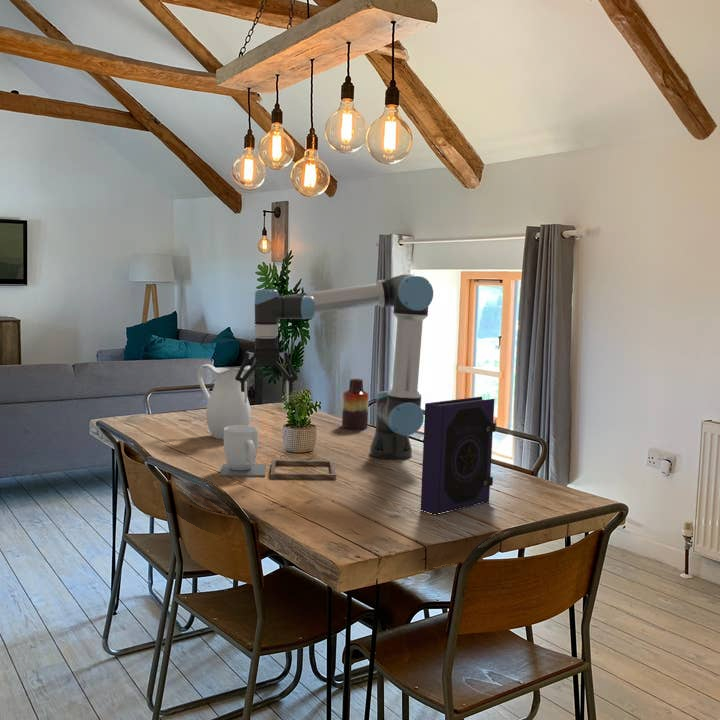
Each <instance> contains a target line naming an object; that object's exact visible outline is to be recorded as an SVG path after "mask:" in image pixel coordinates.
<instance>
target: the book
mask: <svg viewBox="0 0 720 720" xmlns="http://www.w3.org/2000/svg"><path fill="white" fill-rule="evenodd" d="M424 404H425V405H424V420H423V425H424V426H423V449H422V466H421V467H422V471H421V489H420V491H421V495H420V511H421V510H423V511H426V512H429V513H432V514H438V513H442V512H446V511H451V510H455V509H459V508H462V509H464V508H463V507H466V508H468V507H467V506H470V507H472V506H471V505H474V504H478V503H481V504H483V503H482V502H485V503H488V502H487V501H489V502H490V495H491V494H490V493H491V492H490V491H491V486H493V484H494V483H493V482H494V477H493V476H491V472H492V456H493V455H492V453H493V435H494V433H495V432H496V429H497V423H494V419H495V417H494V416H495V415H494V414H495V398H489V399H488V398H487V399H483V396H475V397H474V396H473V397H468V398H467V397H466V398H465V397H464V398H459V399H458V398H457V399H451V400H449V399H448V400H441V401H435V402H426V403H424ZM478 505H479V504H478ZM474 506H475V505H474ZM459 510H460V509H459ZM423 511H422V512H423ZM455 511H456V510H455ZM451 512H452V511H451Z"/></svg>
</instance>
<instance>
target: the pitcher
mask: <svg viewBox="0 0 720 720" xmlns="http://www.w3.org/2000/svg"><path fill="white" fill-rule="evenodd" d="M250 368H251V366H250V365H246V366H245V368H244V370H243V372H242V374H241V376H240V377H243V376H244V375H245V374H246V373H247V372H248V370H249V369H250ZM206 369H208V370H210V371H211V373H212V374H213V376H214V379H215V382H214V386H213V388H212V390H211V393H209V391H208V389H207V387H206V386H205V385H206V384H205V383H204V379H203V378H204V377H203V373H204V371H205V370H206ZM239 369H240V367H233V368H226V367H215V366H214V365H212V364H209V363H206V364H203V365H201V366H200V367H199V368H198V370H197V372H196V373H197V374H196V378H197V381H198V385H199V386H200V389H201V391H202V393H203V394H204V396H205V397H206V401H207V404H206V411H205V419H206V420H205V422H206V425H207V428H208V430H209V432H210V435H212V437H213V438H214V439H218V440H223V441H224V428H225V427H228V426H236V425H245V426H250V422H251V405H250V401H249V397H248V396H247V403H245V392H241V382H240V381H237V380H235V378H236V375H237V373H238V371H239Z"/></svg>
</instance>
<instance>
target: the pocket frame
mask: <svg viewBox="0 0 720 720" xmlns="http://www.w3.org/2000/svg"><path fill="white" fill-rule="evenodd" d="M276 466H301V467H302V466H304V467H305V466H308V467H309V466H310V467H311V466H312V467H313V466H314V467H315V466H317V467H329V471H330V473H307V472H306V473H304V472H303V473H301V472H300V473H298V472H297V473H296V472H294V473H292V472H290V473H289V472H276ZM276 479H277V480H282V479H283V480H337V472H336V468H335V462H334V460H316V459H315V460H313V459H312V460H311V459H310V460H309V459H308V460H306V459H304V460H303V459H302V460H301V459H300V460H298V459H295V460H293V459H272V460H271V467H270V480H276Z"/></svg>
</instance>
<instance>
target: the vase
mask: <svg viewBox="0 0 720 720" xmlns="http://www.w3.org/2000/svg"><path fill="white" fill-rule="evenodd" d="M348 384H349V387H348V390H346V391H343V393H342V412H341V413H342V419H341V421H342V422H341V427H342V428H343V429H347V430H355V431H356V430H357V431H358V430H365V429H368V425H369V424H368V423H369V421H368V419H369V395H370V394H369V392H367V391H365V390H364V380H363V379H361V378H350V379H349V383H348Z"/></svg>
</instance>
